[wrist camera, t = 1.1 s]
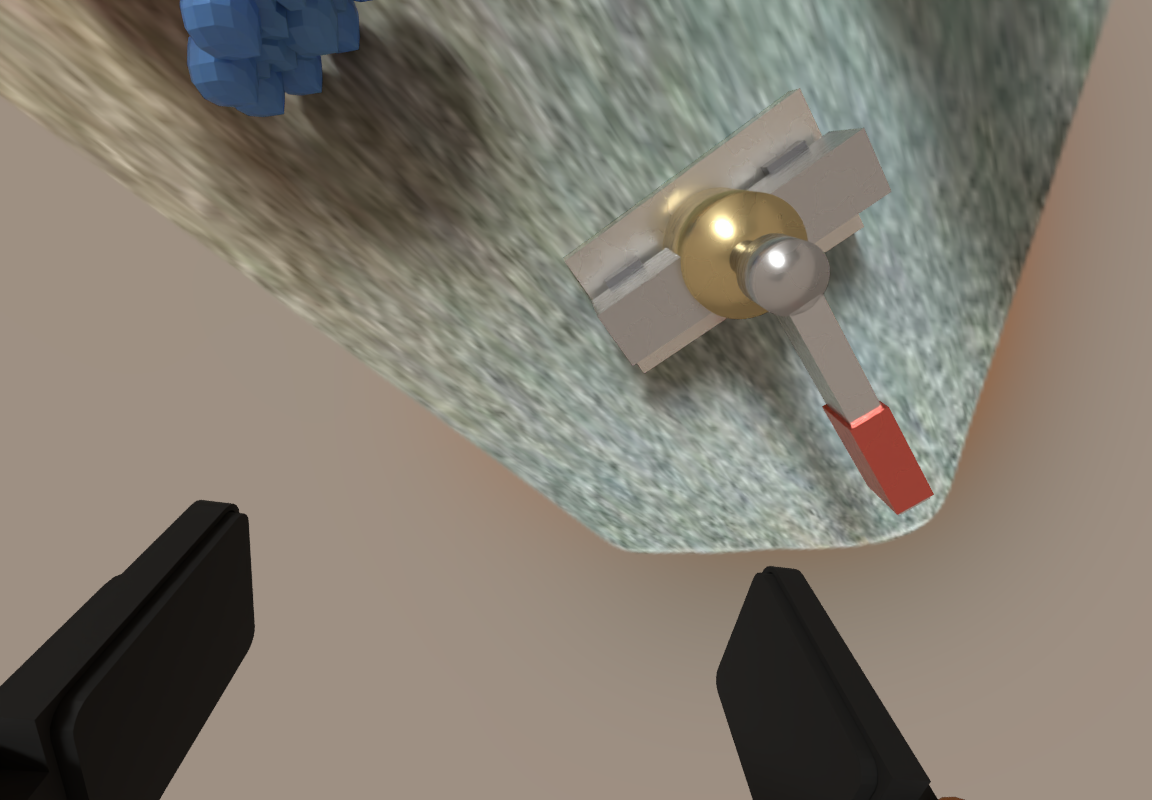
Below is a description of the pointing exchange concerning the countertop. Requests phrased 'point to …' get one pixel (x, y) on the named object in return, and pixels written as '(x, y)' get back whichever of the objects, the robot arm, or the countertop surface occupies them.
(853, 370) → the valve lever
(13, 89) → the countertop surface
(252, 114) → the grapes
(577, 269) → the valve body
